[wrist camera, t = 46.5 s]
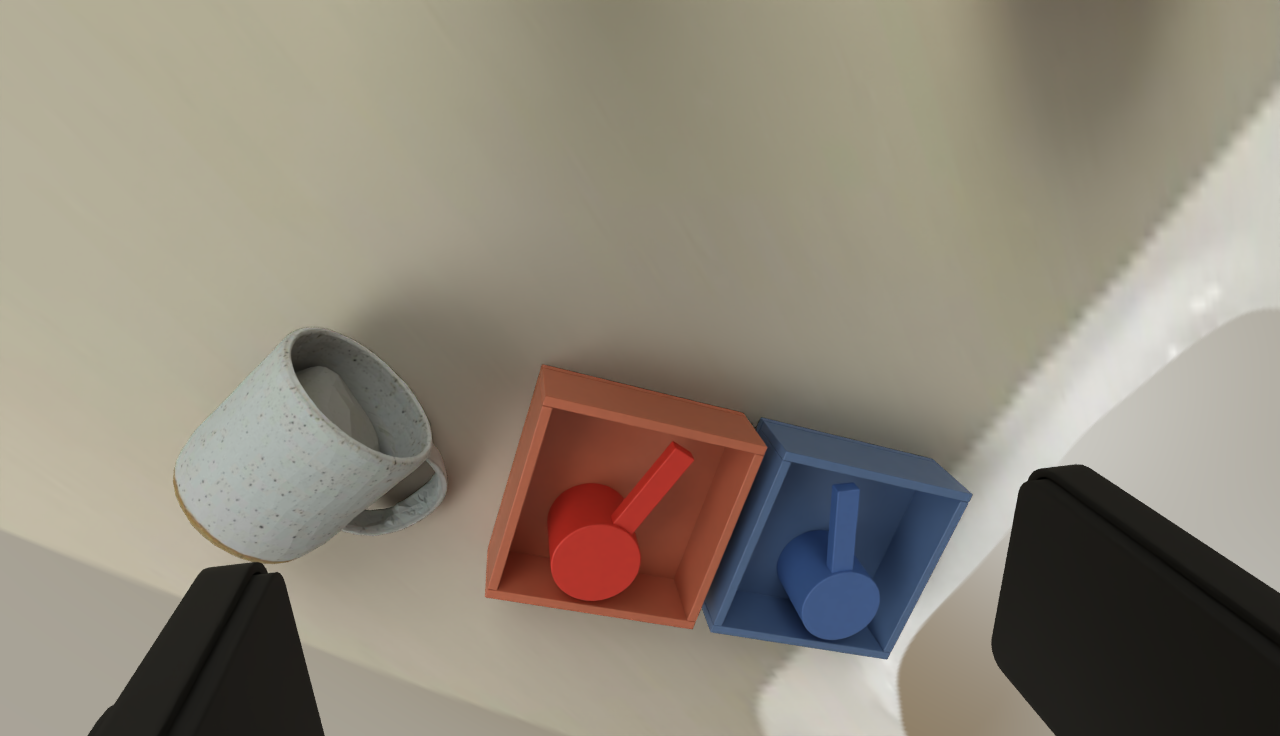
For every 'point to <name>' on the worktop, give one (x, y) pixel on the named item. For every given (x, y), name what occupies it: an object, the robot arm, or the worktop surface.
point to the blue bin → (800, 502)
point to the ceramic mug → (307, 452)
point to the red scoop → (606, 529)
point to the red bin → (623, 492)
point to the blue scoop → (830, 573)
